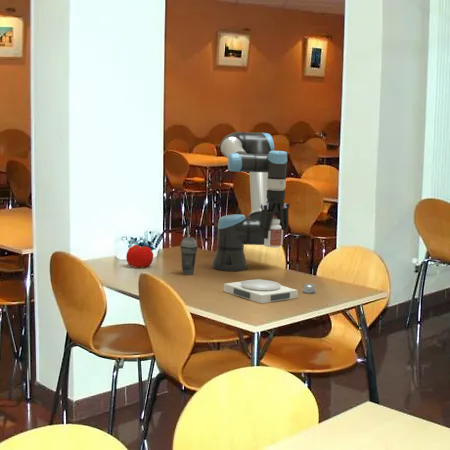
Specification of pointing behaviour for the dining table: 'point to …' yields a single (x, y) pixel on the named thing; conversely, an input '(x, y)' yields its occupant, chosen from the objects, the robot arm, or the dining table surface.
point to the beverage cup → (188, 254)
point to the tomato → (139, 256)
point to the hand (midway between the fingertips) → (273, 245)
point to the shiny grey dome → (309, 288)
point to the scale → (260, 290)
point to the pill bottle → (275, 233)
